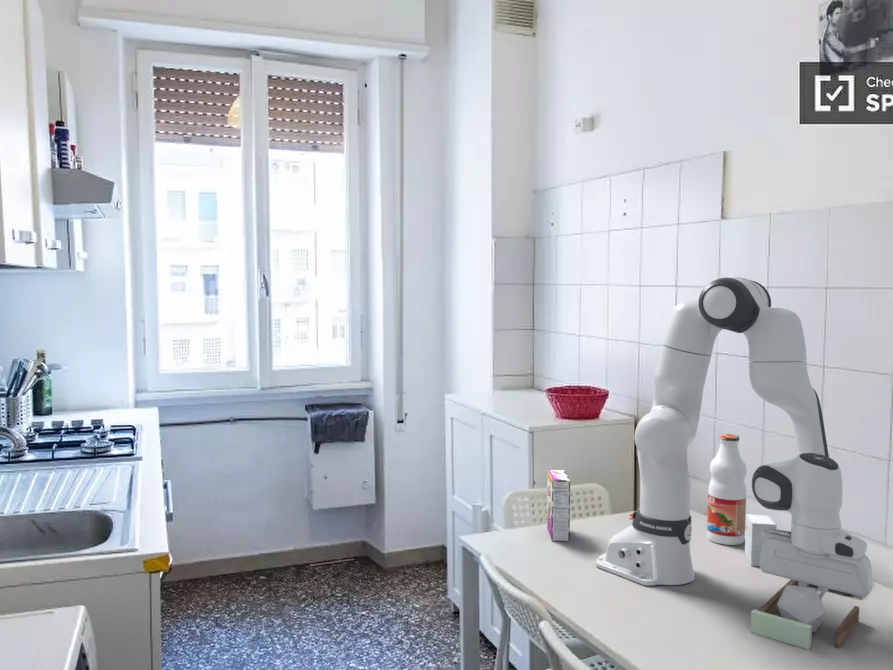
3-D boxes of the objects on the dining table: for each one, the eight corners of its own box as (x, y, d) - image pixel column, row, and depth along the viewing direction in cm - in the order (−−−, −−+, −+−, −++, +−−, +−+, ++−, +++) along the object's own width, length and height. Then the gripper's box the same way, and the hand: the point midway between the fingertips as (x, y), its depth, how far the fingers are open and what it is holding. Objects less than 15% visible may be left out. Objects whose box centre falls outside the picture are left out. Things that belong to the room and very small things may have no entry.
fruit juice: (751, 545, 194) (755, 438, 192) (718, 546, 192) (722, 439, 190) (732, 533, 203) (736, 431, 201) (700, 534, 201) (703, 432, 200)
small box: (775, 568, 178) (777, 524, 177) (750, 566, 179) (752, 523, 178) (768, 556, 186) (769, 515, 185) (744, 554, 187) (745, 513, 186)
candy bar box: (545, 528, 206) (546, 469, 205) (563, 528, 206) (565, 469, 205) (550, 541, 194) (552, 479, 193) (569, 542, 194) (571, 480, 193)
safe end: (750, 631, 144) (751, 611, 144) (752, 629, 145) (753, 609, 145) (808, 649, 137) (809, 628, 137) (810, 646, 138) (811, 625, 138)
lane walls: (751, 631, 144) (751, 616, 144) (799, 583, 168) (799, 570, 168) (833, 655, 135) (834, 639, 135) (872, 602, 159) (873, 588, 159)
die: (811, 646, 140) (840, 604, 141) (769, 615, 144) (797, 574, 144) (804, 641, 148) (831, 601, 148) (764, 612, 151) (791, 572, 152)
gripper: (756, 529, 152) (753, 595, 153) (869, 553, 139) (865, 625, 140) (766, 522, 157) (763, 586, 158) (876, 544, 144) (872, 614, 145)
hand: (812, 605), depth 149 cm, fingers closed
